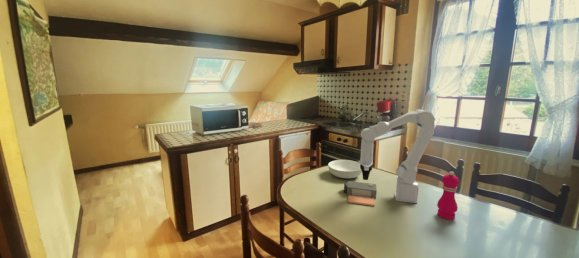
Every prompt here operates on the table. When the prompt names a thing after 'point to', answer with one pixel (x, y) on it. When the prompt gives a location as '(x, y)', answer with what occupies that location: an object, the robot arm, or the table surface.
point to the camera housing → (360, 189)
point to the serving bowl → (345, 168)
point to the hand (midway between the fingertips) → (365, 179)
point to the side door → (361, 200)
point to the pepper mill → (448, 197)
